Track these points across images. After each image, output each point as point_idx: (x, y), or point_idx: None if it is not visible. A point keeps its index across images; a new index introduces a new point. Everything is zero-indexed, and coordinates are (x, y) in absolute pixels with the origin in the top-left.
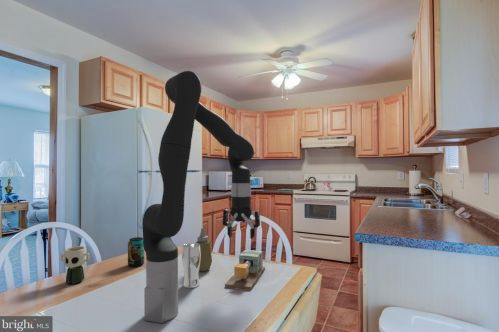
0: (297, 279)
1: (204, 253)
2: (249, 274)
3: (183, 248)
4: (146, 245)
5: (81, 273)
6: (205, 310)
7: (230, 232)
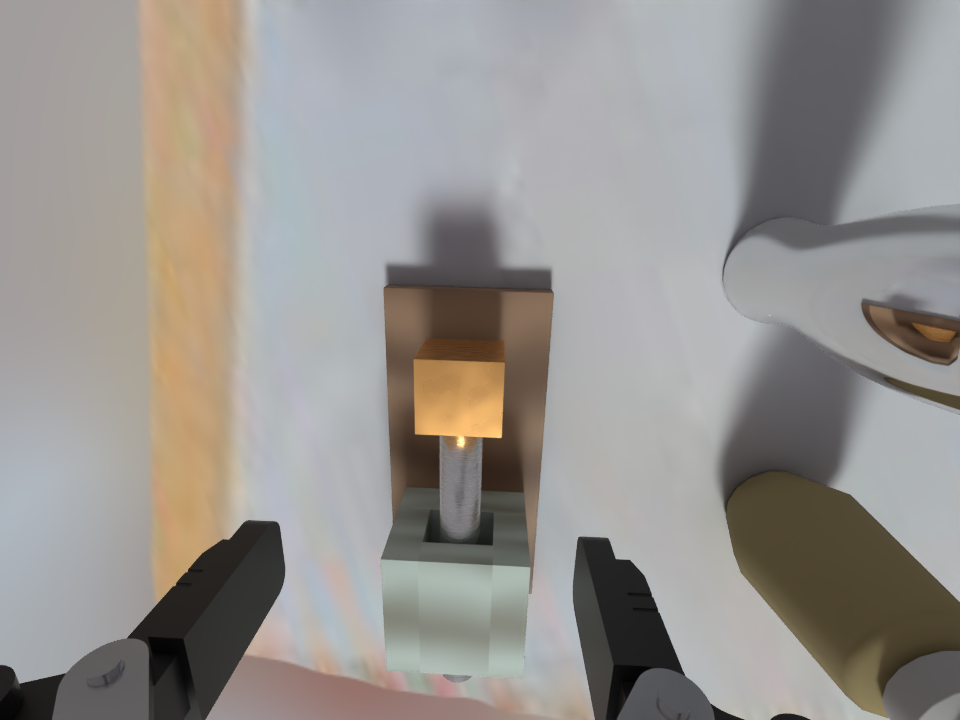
0: (193, 484)
1: (826, 552)
2: None
3: None
4: None
5: None
6: None
7: (593, 585)
